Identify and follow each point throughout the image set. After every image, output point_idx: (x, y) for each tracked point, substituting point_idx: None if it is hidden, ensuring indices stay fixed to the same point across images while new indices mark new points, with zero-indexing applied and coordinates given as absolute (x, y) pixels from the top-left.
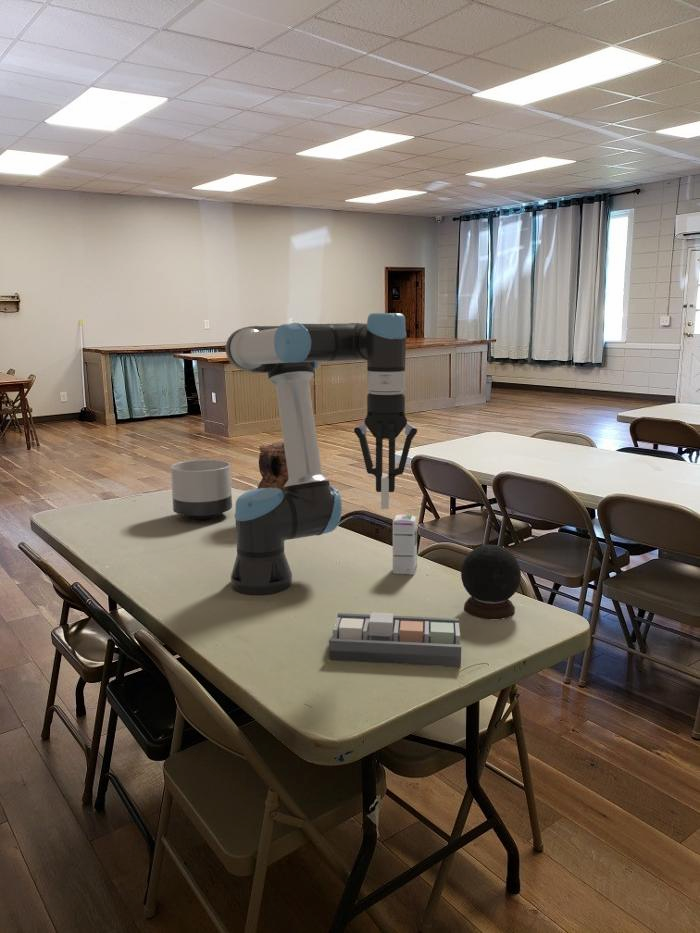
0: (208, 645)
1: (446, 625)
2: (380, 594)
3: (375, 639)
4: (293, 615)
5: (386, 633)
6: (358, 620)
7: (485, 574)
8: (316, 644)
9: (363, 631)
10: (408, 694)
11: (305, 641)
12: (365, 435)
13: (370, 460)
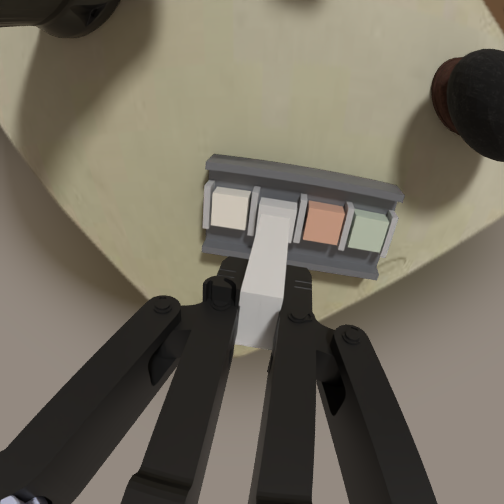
0: (69, 198)
1: (376, 230)
2: (288, 4)
3: None
4: (140, 100)
5: None
6: (239, 202)
7: (485, 153)
8: (186, 196)
9: (248, 234)
10: None
11: (171, 187)
12: (36, 483)
13: (151, 396)
